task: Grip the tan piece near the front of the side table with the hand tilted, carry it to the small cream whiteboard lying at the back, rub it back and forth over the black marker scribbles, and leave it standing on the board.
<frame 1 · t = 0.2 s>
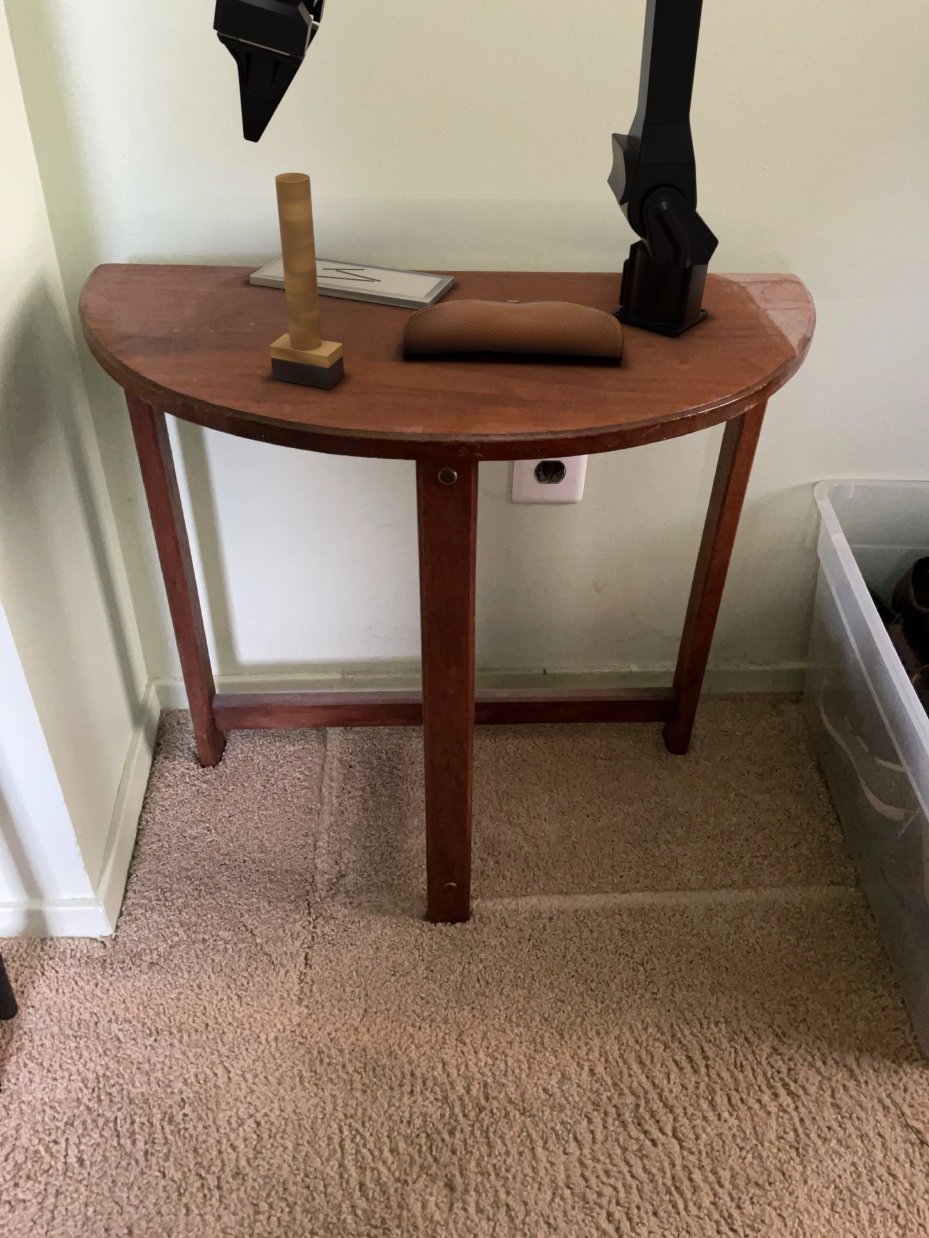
hand: (258, 126, 78), 15 cm above the table, tool pointing down, fingers open, 9 cm apart
sunglasses case: (510, 348, 84), on the table
board: (352, 284, 94), on the table
tan piece: (308, 378, 78), on the table
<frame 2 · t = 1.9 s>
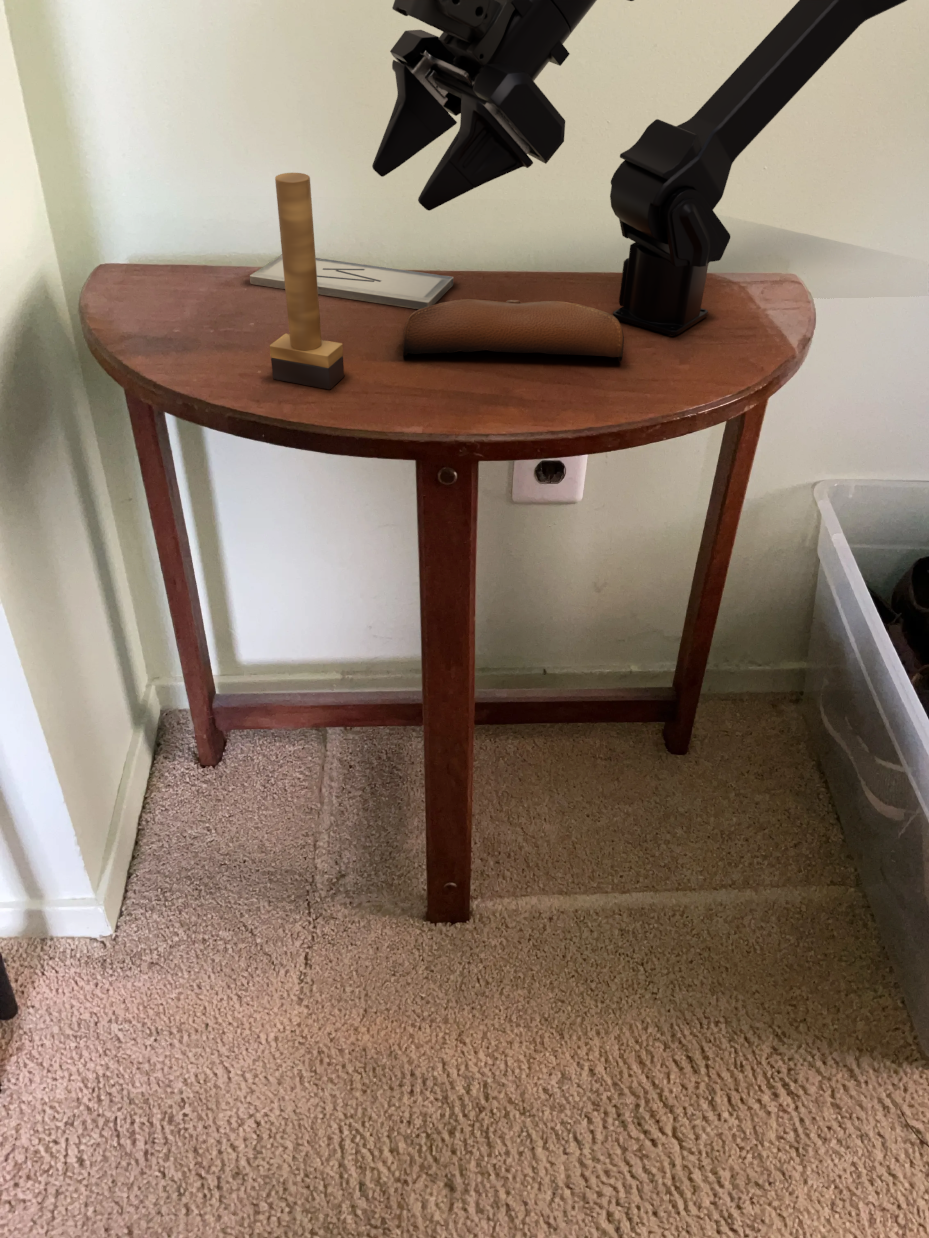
hand: (398, 188, 73), 13 cm above the table, tool tilted 45°, fingers open, 9 cm apart
nothing on the table moved.
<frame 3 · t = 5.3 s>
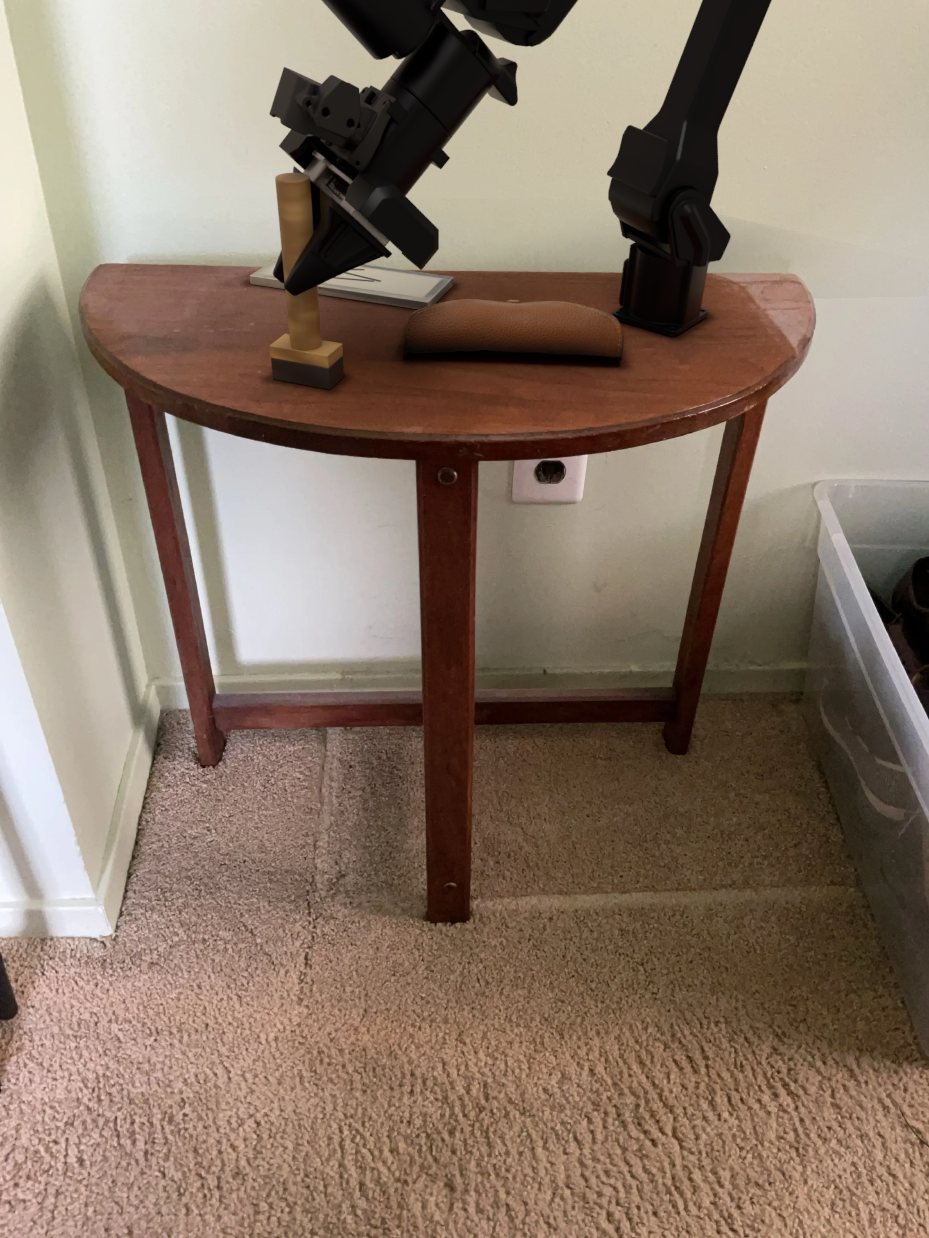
hand: (282, 285, 73), 8 cm above the table, tool tilted 45°, fingers closed on tan piece, 2 cm apart
tan piece: (308, 378, 78), on the table, touching gripper
everything else where it was.
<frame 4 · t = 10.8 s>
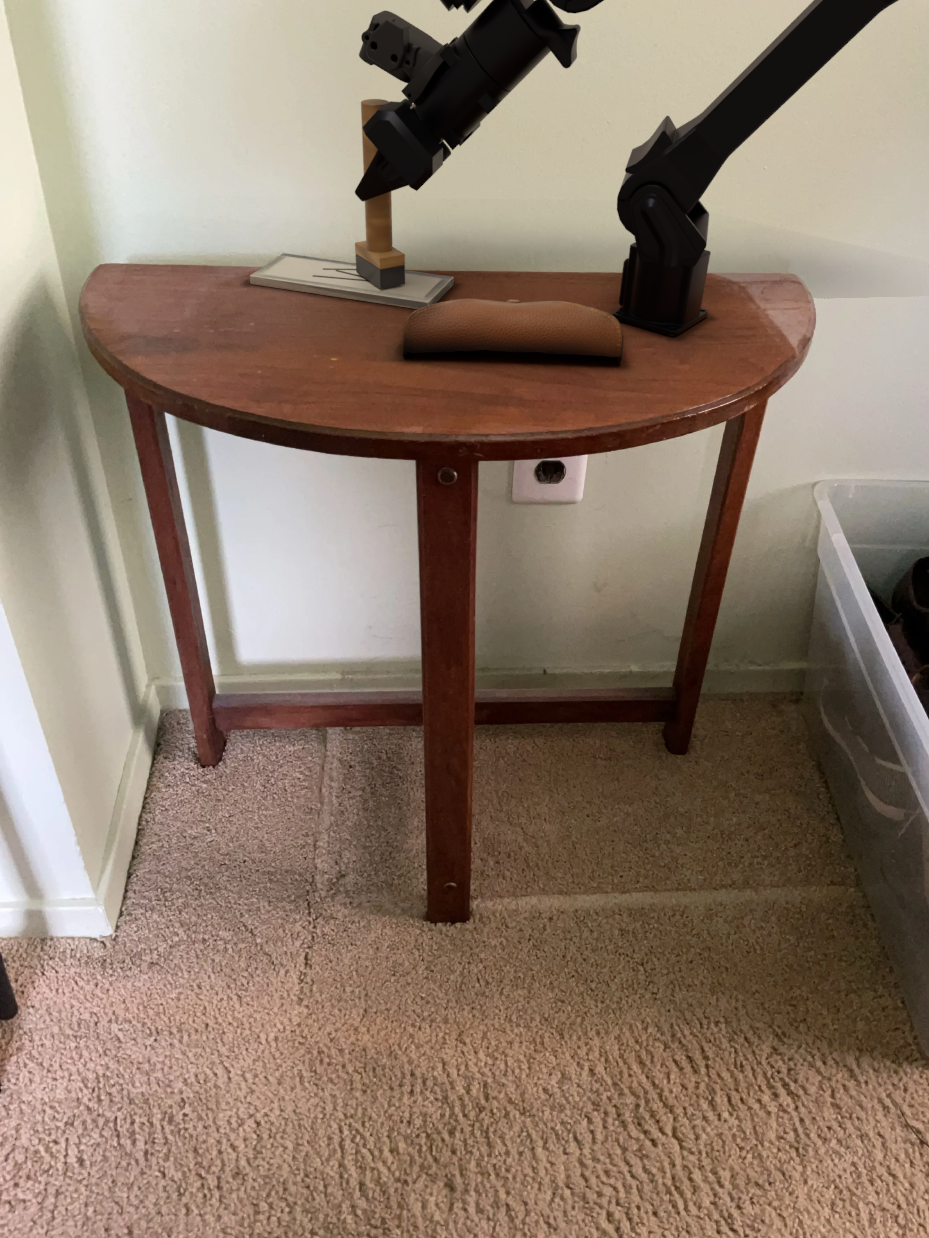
hand: (363, 192, 89), 9 cm above the table, tool tilted 45°, fingers closed on tan piece, 2 cm apart
tan piece: (380, 278, 93), point 1 cm above the table, touching gripper
everything else where it was.
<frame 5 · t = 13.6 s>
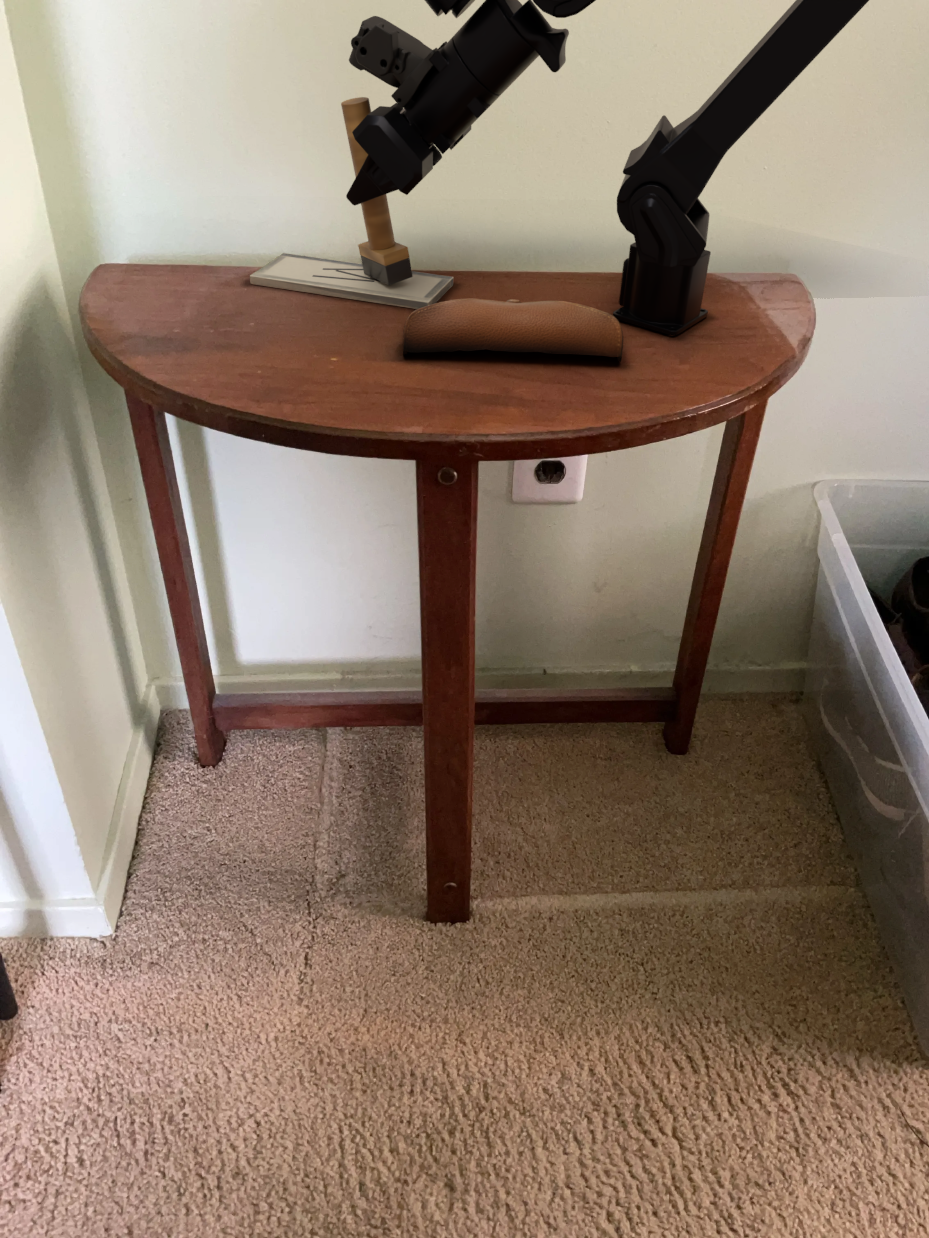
hand: (354, 196, 89), 8 cm above the table, tool tilted 45°, fingers closed on tan piece, 2 cm apart
tan piece: (388, 275, 93), point 1 cm above the table, tilted 9°, touching gripper
everything else where it was.
when the fingers open (8 cm above the table, at t = 16.3 s): tan piece stays where it is, resting on board.
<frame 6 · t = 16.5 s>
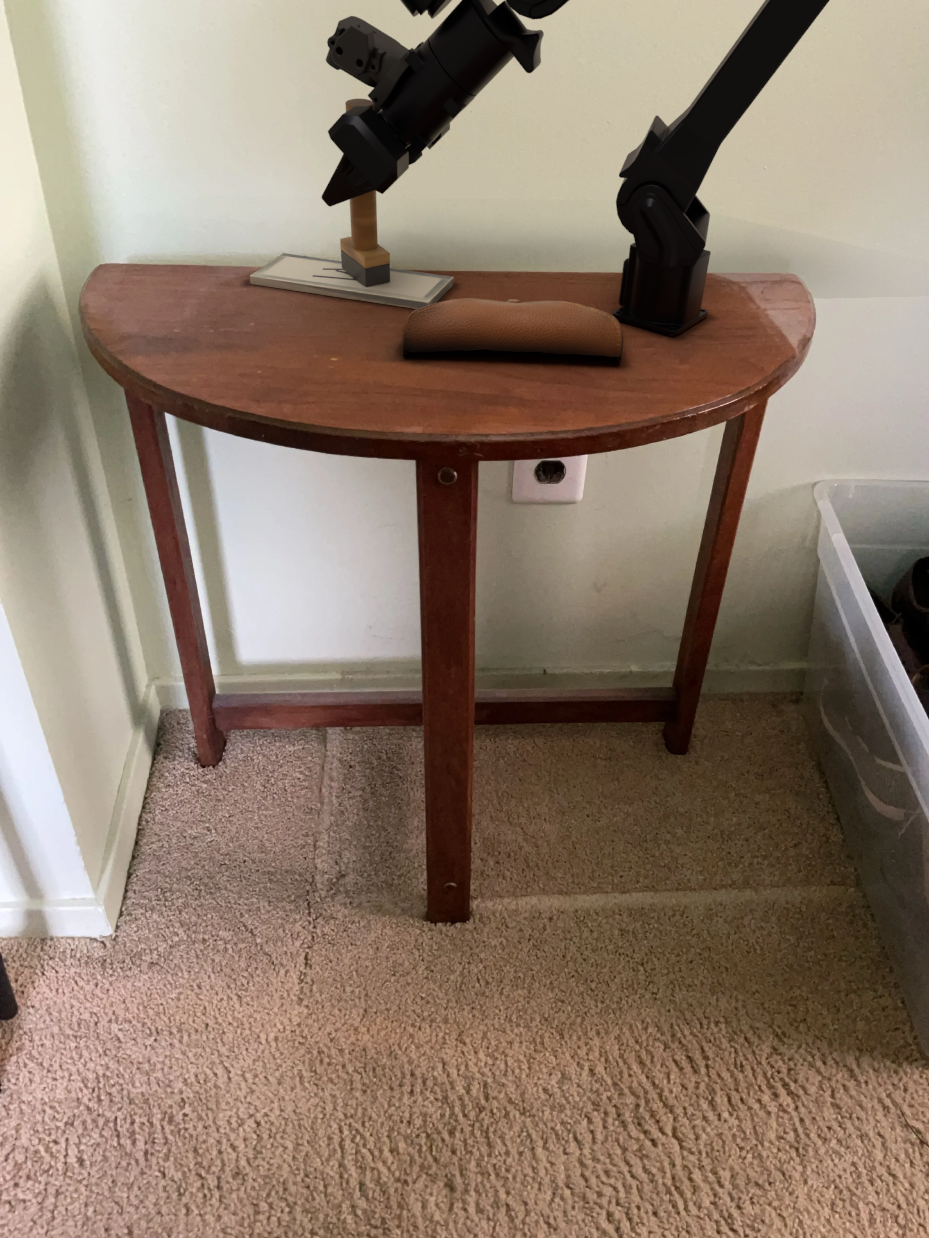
hand: (333, 195, 90), 8 cm above the table, tool tilted 45°, fingers open, 4 cm apart
tan piece: (365, 274, 94), point 1 cm above the table, touching board, gripper
everything else where it was.
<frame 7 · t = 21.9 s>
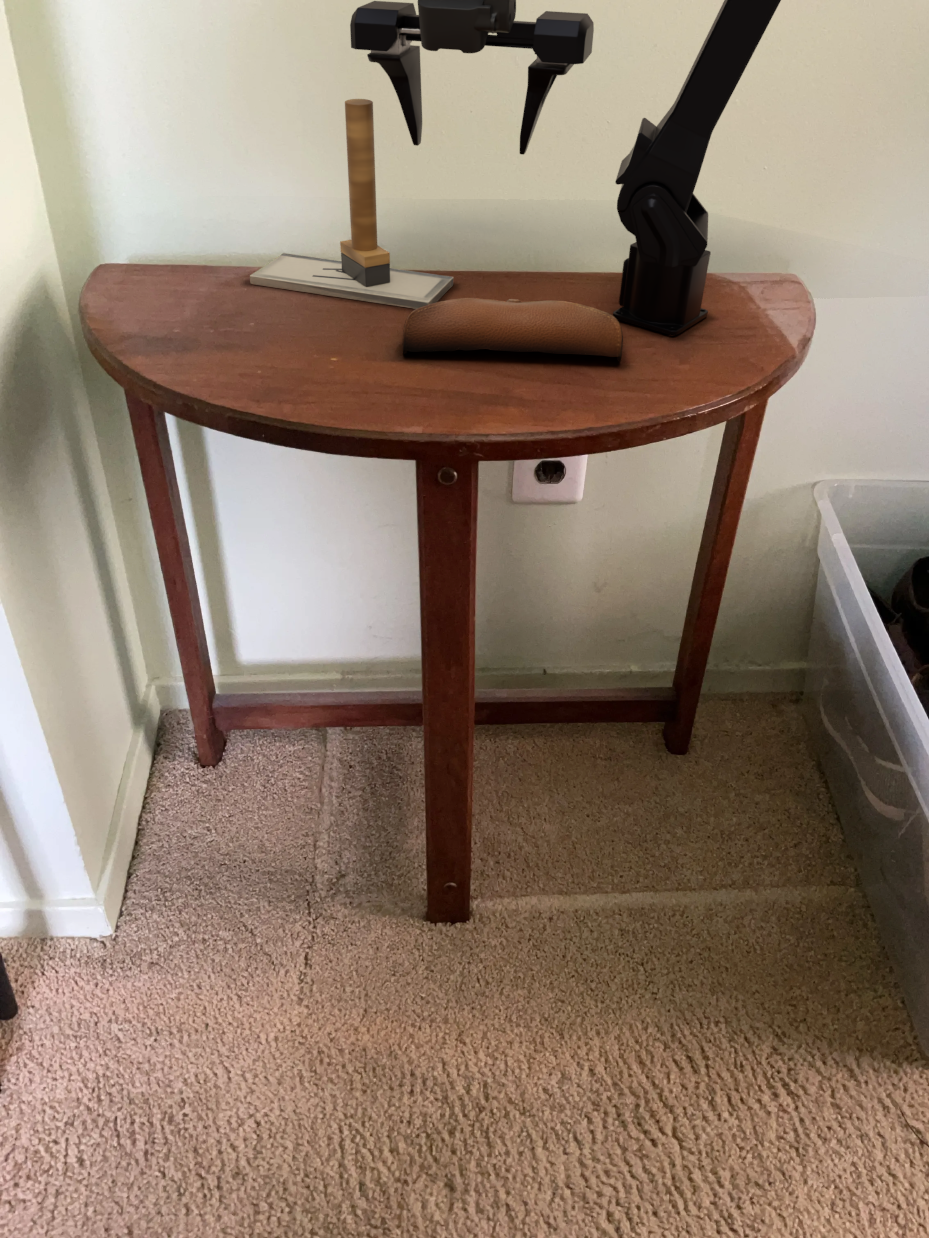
hand: (469, 149, 84), 13 cm above the table, tool pointing down, fingers open, 9 cm apart
tan piece: (365, 276, 94), point 1 cm above the table, touching board
everything else where it was.
at the end: tan piece inside the target area on the board (1.3 cm from its centre), point 0.8 cm above the board's base; tan piece tilted 0°; the gripper is holding nothing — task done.
